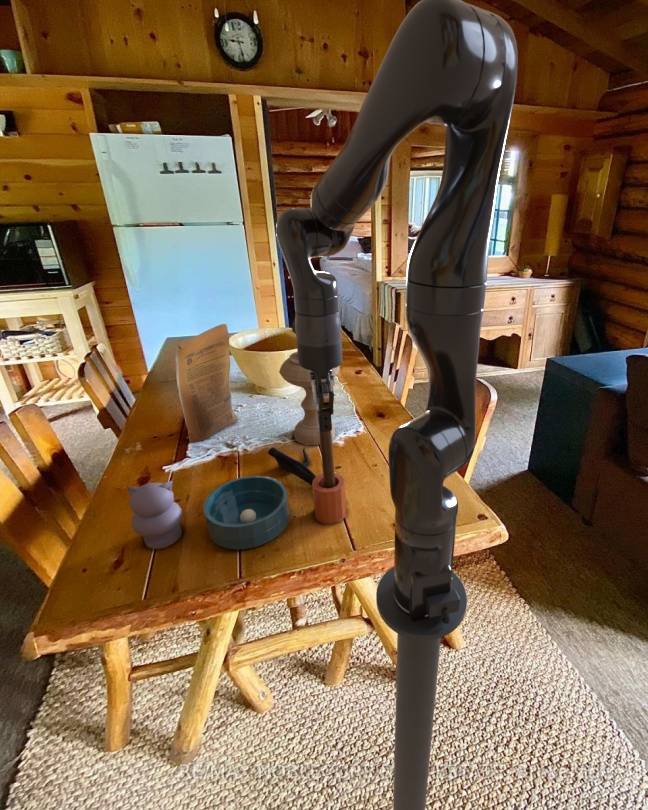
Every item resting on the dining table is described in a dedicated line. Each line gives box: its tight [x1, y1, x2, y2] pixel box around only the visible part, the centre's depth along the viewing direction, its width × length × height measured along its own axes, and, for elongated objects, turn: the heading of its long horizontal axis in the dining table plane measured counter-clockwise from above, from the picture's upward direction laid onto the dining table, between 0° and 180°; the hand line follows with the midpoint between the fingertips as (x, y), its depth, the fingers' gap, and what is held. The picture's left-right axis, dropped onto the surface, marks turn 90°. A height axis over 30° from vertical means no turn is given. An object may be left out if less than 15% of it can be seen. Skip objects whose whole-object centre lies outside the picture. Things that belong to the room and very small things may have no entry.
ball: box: [240, 509, 256, 524], centre depth 87 cm, size 3×3×3 cm
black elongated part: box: [267, 446, 317, 486], centre depth 102 cm, size 8×9×25 cm
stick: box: [317, 408, 336, 489], centre depth 84 cm, size 2×2×20 cm
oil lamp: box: [278, 316, 341, 446], centre depth 110 cm, size 15×15×40 cm
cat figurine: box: [126, 480, 183, 550], centre depth 82 cm, size 8×8×12 cm
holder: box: [311, 472, 347, 525], centre depth 89 cm, size 6×6×8 cm
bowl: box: [202, 475, 290, 550], centre depth 87 cm, size 15×15×6 cm
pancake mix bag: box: [174, 323, 237, 443], centre depth 115 cm, size 7×19×28 cm, turn 155°
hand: (324, 426), depth 82 cm, fingers closed on stick, 2 cm apart
